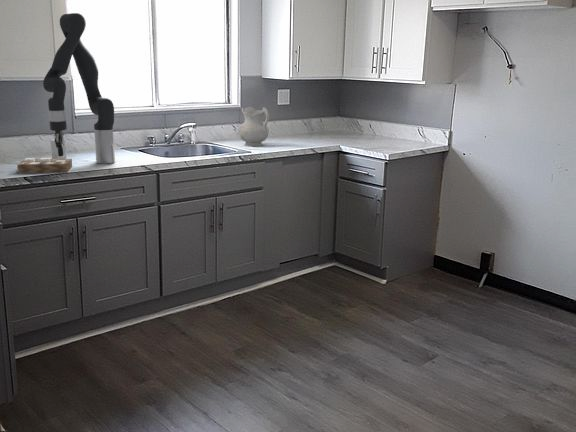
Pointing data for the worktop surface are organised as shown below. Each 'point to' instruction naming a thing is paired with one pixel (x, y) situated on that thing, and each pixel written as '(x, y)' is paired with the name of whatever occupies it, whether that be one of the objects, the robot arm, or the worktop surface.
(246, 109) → the ceramic pitcher
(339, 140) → the worktop surface
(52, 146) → the skincare box
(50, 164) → the button board
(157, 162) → the worktop surface
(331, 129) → the worktop surface
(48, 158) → the button middle
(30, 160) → the button
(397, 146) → the worktop surface
